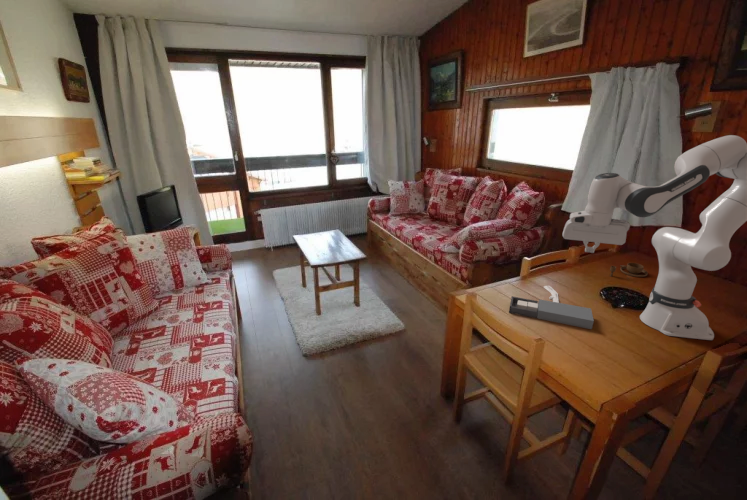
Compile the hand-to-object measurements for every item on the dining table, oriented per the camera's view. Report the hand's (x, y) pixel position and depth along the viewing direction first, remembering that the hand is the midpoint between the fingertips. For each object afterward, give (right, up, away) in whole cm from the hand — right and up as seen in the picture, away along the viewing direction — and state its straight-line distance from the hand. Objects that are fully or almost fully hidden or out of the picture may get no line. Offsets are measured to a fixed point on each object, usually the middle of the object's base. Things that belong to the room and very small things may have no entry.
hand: (589, 251), depth 128 cm
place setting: (+53, -12, +51) cm, 74 cm away
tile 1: (-18, -23, +19) cm, 34 cm away
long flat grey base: (-3, -28, +13) cm, 31 cm away
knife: (+1, -21, +32) cm, 39 cm away
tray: (-17, -26, +20) cm, 37 cm away
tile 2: (-14, -26, +18) cm, 34 cm away
